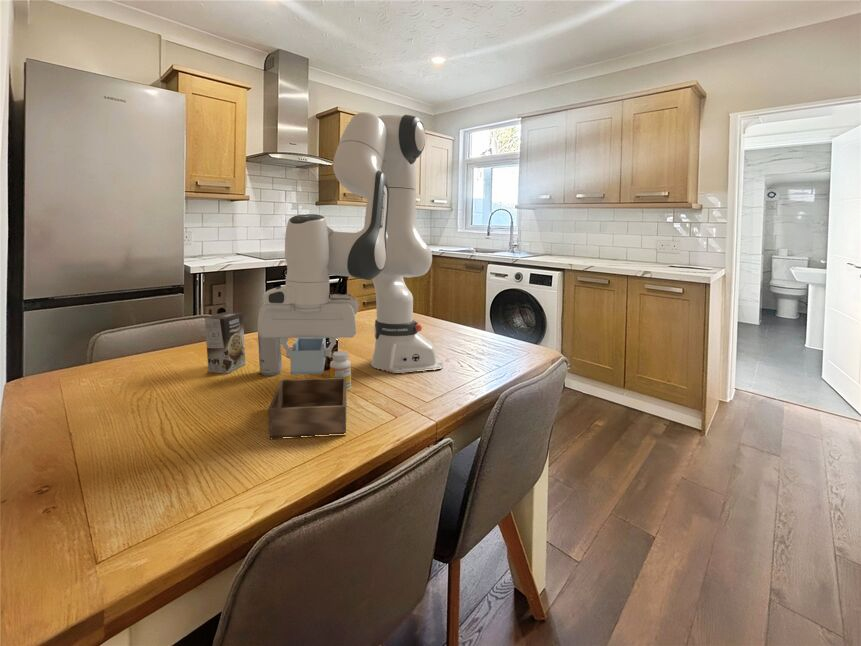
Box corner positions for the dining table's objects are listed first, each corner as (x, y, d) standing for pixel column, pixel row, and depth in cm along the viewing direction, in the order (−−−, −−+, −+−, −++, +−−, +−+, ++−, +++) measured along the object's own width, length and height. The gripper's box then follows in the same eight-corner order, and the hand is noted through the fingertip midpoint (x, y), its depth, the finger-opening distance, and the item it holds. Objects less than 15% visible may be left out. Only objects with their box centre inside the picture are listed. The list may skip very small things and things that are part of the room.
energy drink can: (259, 370, 131) (257, 320, 128) (281, 368, 134) (279, 319, 130) (260, 377, 126) (257, 325, 123) (282, 375, 128) (280, 324, 125)
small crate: (325, 358, 103) (325, 337, 102) (322, 374, 93) (322, 351, 92) (296, 359, 102) (296, 337, 101) (290, 374, 92) (290, 351, 91)
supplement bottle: (331, 384, 122) (331, 350, 120) (351, 384, 123) (351, 350, 121) (329, 391, 117) (328, 356, 115) (349, 391, 117) (349, 356, 115)
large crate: (346, 403, 110) (346, 378, 109) (345, 435, 94) (345, 406, 92) (281, 405, 108) (280, 379, 106) (269, 439, 91) (267, 409, 90)
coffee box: (227, 374, 127) (223, 318, 124) (207, 372, 129) (203, 317, 125) (246, 364, 136) (243, 312, 133) (227, 362, 137) (224, 311, 134)
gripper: (358, 292, 99) (357, 352, 102) (260, 290, 96) (263, 353, 98) (358, 296, 93) (358, 360, 96) (254, 295, 89) (257, 361, 92)
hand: (309, 357), depth 97 cm, fingers closed on small crate, 6 cm apart
